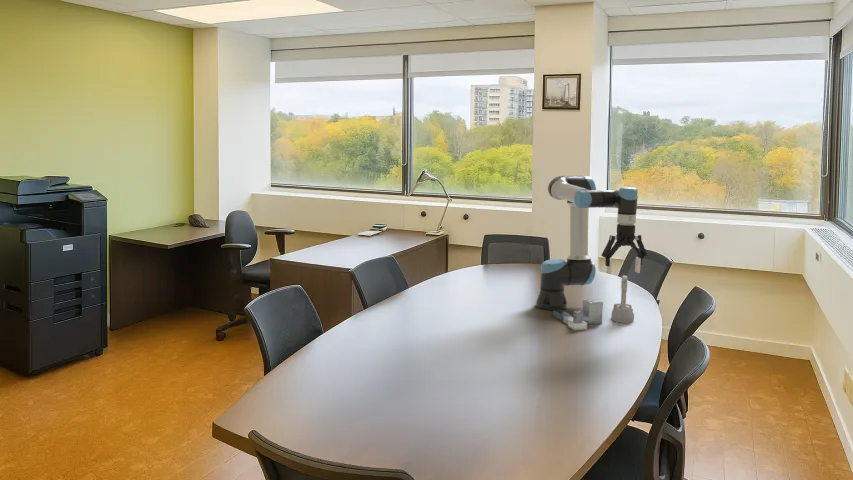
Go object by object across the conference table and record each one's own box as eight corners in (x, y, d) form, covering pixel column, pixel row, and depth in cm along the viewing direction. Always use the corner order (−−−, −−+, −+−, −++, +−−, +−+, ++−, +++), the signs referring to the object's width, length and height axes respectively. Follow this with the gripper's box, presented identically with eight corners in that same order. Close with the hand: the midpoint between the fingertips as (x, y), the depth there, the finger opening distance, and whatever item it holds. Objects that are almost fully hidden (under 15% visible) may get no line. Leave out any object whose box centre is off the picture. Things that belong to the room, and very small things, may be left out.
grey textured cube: (581, 320, 302) (582, 299, 301) (595, 319, 304) (596, 298, 302) (588, 324, 296) (589, 302, 294) (601, 323, 297) (603, 302, 296)
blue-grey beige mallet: (551, 315, 309) (552, 300, 308) (563, 315, 310) (564, 299, 309) (574, 330, 286) (574, 313, 285) (586, 329, 287) (587, 312, 286)
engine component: (612, 321, 300) (634, 323, 298) (614, 277, 297) (637, 279, 295) (610, 315, 311) (632, 317, 309) (612, 273, 307) (634, 274, 305)
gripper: (603, 225, 272) (601, 275, 275) (657, 224, 277) (654, 273, 281) (595, 223, 279) (592, 272, 282) (647, 222, 285) (644, 270, 288)
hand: (623, 273), depth 282 cm, fingers open, 13 cm apart
